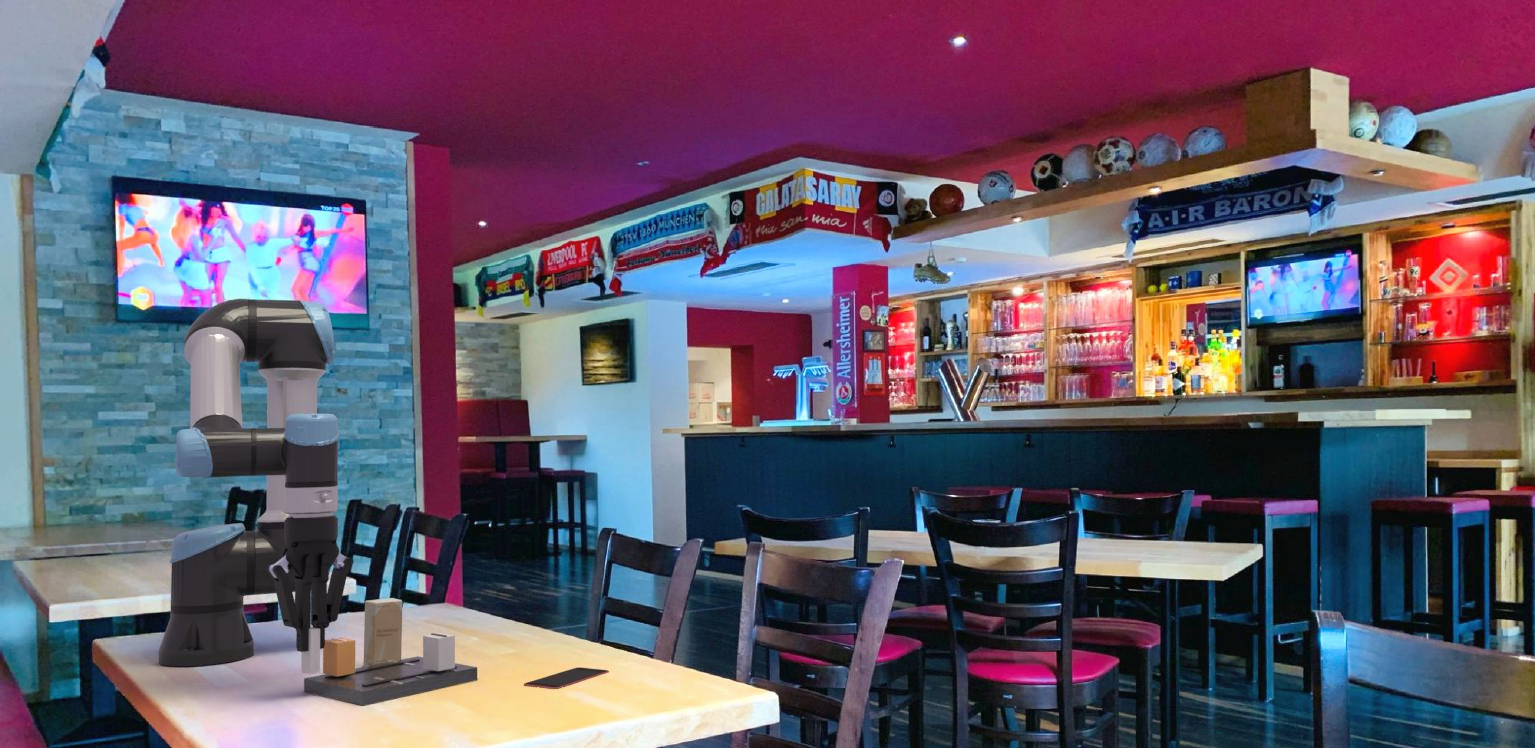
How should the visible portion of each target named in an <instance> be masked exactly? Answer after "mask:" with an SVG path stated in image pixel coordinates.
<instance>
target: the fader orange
mask: <svg viewBox="0 0 1535 748" xmlns="http://www.w3.org/2000/svg"><path fill="white" fill-rule="evenodd" d="M322 665H323V666H322V675H324V674H328V675H332V676H337V677H338V676H343V675H348V674H353V673H355V668H356V639H351V638H346V637H332V638H331V639H325V646H324V648H323V649H322Z"/></svg>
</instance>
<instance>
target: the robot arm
mask: <svg viewBox="0 0 1535 748" xmlns="http://www.w3.org/2000/svg"><path fill="white" fill-rule="evenodd" d="M329 313H330V312H329V310H328V309H327V307H326V306H325V305H324V304H323V303H322V302H321V303H320V302H316V301H306V300H301V299H300V300H299V299H298V300H296V299H295V300H292V299H291V300H290V299H289V300H288V299H287V300H286V299H285V300H284V299H254V298H252V299H251V298H250V299H249V298H235V299H227V300H225V301H222V302H219V303H217V304H215V305H214V306H211V307H210V308H208V309H207V310H205V311H204V312H203V313H201V314H200V315H199V316H198V317H197V318H195V320H194V321H193V322H192V324H191V325H190V327H189V329H188V331H187V333H186V335H185V338H184V344H183V345H184V346H183V347H184V348H183V350H184V357H185V359H186V362H187V363H188V364H189V366H190V405H189V406H190V407H189V408H190V413H189V414H190V417H189V419H190V423H189V425H190V427H189V428H185V429H180V430H178V432H177V433H176V445H175V446H176V448H175V449H176V453H175V454H176V455H175V460H176V461H175V465H176V466H175V467H176V468H175V469H176V474H178V475H179V476H180V477H182V478H202V479H209V478H211V479H212V478H228V477H229V478H230V477H252V476H253V477H254V476H255V477H258V476H260V477H262V476H264V477H265V476H266V510H265V511H264V513H263V514H262V515H261V516H259V518H258V519H257V522H256V523H257V525H256V526H257V527H256V528H257V529H255V530H246V527H245V525H244V523H242V522H239V523H230V524H220V525H215V526H214V525H213V526H207V527H204V528H197V529H193V530H188V531H183V532H181V533H179V534H178V535H176V536H175V537H174V538H173V540H172V544H171V557H170V559H169V564H171V570H170V571H171V574H170V576H171V577H170V578H171V579H170V580H171V581H170V612H169V613H170V617H169V620H168V623H167V626H166V629H165V632H164V634H163V637H162V640H161V643H160V646H159V649H158V664H159V665H163V666H168V667H195V666H208V665H217V664H218V665H219V664H223V663H230V662H235V661H240V660H242V659H247V658H249V657H251V656H252V655H254V654H255V652H254V650H255V649H254V647H255V646H254V645H255V641H254V638H253V636H252V633H251V630H250V627H249V624H248V622H247V618H246V615H245V613H244V611H245V610H244V597H245V596H247V597H248V596H255V595H256V596H257V595H259V596H260V595H268V594H269V595H270V594H276V597H277V601H278V605H279V611H280V616H281V619H282V623H283V625H284V626H285V627H289V628H293V629H295V632H296V633H295V634H296V639H295V641H296V643H295V644H296V645H295V646H296V647H295V648H296V651H298V652H300V655H301V659H300V660H301V663H300V665H301V666H300V669H301V670H300V672H301V673H303V674H307V675H308V674H309V675H313V674H318V673H319V674H320V673H321V650H323V648H324V646H325V640H326V629H327V628H329V626H330V624H331V623H333V622H336V621H338V618H339V612H340V608H341V606H342V605H341V604H342V599H343V594H344V592H345V591H344V590H345V585H346V581H347V577H348V573H349V572H350V570H351V568H352V566H353V564H354V558H353V557H347V556H345V555H343V554H342V553H340V548H339V546H338V544H337V540H338V536H339V517H337V515H334V513H336V512H338V511H339V510H338V506H339V505H338V504H339V501H338V499H339V498H338V497H339V495H338V493H339V491H338V490H339V489H338V487H339V483H338V482H339V481H338V473H339V472H338V471H339V470H338V468H339V466H338V464H339V463H338V462H339V461H338V460H339V439H340V433H339V426H338V425H339V423H338V421H339V420H338V418H337V416H336V415H335V414H332V413H318V381H319V380H320V378H322V376H324V375H325V373H326V371H327V368H326V367H327V365H328V364H332V363H333V362H334V361H335V355H336V353H335V339H334V332H333V326H332V321H331V316H330V314H329ZM243 362H244V363H245V362H246V363H258V369H257V370H258V371H257V372H258V373H259V374H260V375H261V376H262V377H263V378H264V380H266V383H267V385H266V386H267V388H266V389H267V391H266V393H267V394H266V395H267V396H266V398H267V399H266V400H267V401H266V408H267V410H266V413H267V414H266V423H267V424H266V427H263V428H262V427H258V428H257V427H256V428H255V427H251V428H250V427H247V428H244V427H243V412H242V411H243V409H242V392H241V391H242V390H241V373H240V372H241V371H240V364H241V363H243ZM332 567H333V569H332V571H331V568H332ZM330 572H331V574H330ZM329 575H330V577H329ZM328 583H329V584H328ZM293 593H294V594H293Z"/></svg>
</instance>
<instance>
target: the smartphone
mask: <svg viewBox="0 0 1535 748" xmlns="http://www.w3.org/2000/svg"><path fill="white" fill-rule="evenodd" d="M608 673H610V671H609V670H607V669H598V668H589V667H574V668H571V669H568V670H563V671H560V672H557V673H554V674H551V675H547V676H544V677H541V678H540V677H539V678H537V679H534V680H531V681H528V682H525V683H523V687H524V686H525V687H529V688H530V687H531V688H538V687H539V689H546V690H559V689H563V688H566V687H569V686H572V685H575V684H578V683H580V682H584V681H587V680H590V679H593V678H597V677H599V676H602V675H605V674H608ZM562 687H563V688H562Z"/></svg>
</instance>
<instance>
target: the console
mask: <svg viewBox="0 0 1535 748" xmlns="http://www.w3.org/2000/svg"><path fill="white" fill-rule="evenodd" d="M303 680H304V681H303V688H304V689H303V692H304V693H308V694H309V693H310V694H313V695H317V696H321V697H325V698H330V699H332V700H337V701H340V702H345V703H346V702H347V703H350V704H354V705H357V706H362V707H363V706H369V705H373V704H377V703H382V702H386V701H387V702H388V701H390V700H391V701H392V700H394V699H399V698H404V697H409V696H413V695H417V694H423V693H425V692H426V693H427V692H432V691H436V690H439V689H444V688H449V687H453V686H458V685H461V684H465V683H471V682H475V681H478V667H477V666H473V665H467V664H463V663H456V662H455V668H452V669H447V670H442V671H434V670H429V669H424V668H423V656H413V657H407V658H401V660H388V662H386V663H381V664H375V665H370V666H365V665H364V664H363V665H362V666H361V667H355V673H353V674H348V675H343V676H338V677H337V676H332V675H328V674H320V675H315V676H309V677H304V678H303Z"/></svg>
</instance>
